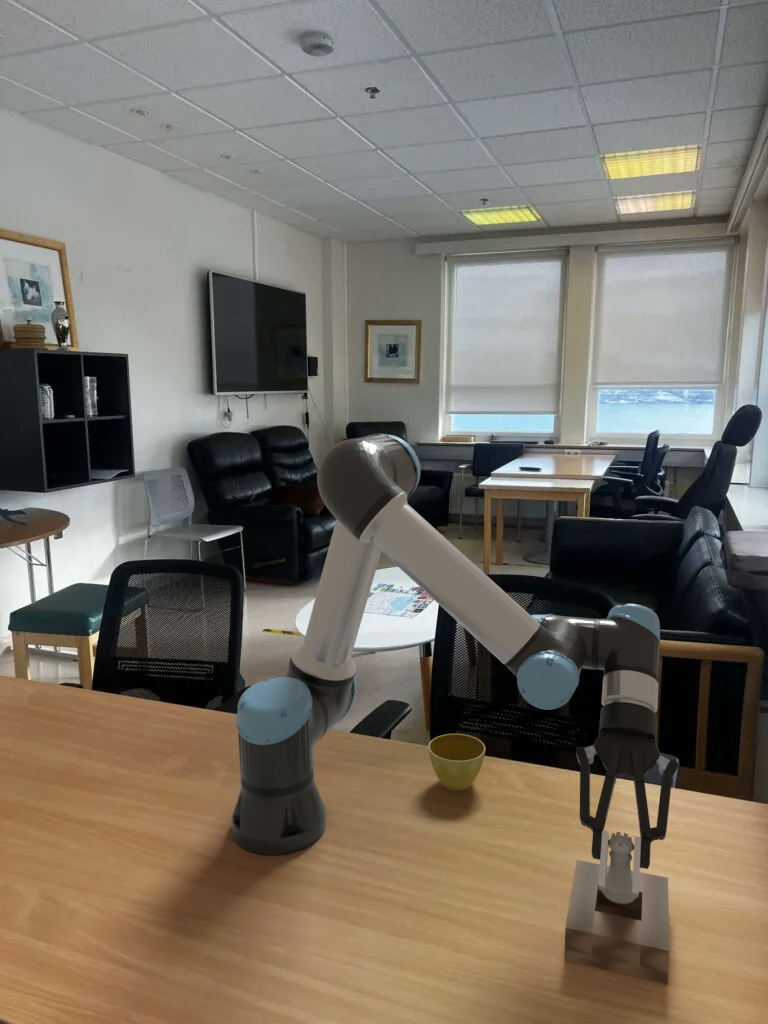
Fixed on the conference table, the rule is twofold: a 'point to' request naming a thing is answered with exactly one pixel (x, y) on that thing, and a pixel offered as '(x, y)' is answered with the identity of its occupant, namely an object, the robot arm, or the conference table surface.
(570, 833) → the conference table surface
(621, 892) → the rook chess piece
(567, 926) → the socket block
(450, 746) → the flower pot
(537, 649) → the robot arm
